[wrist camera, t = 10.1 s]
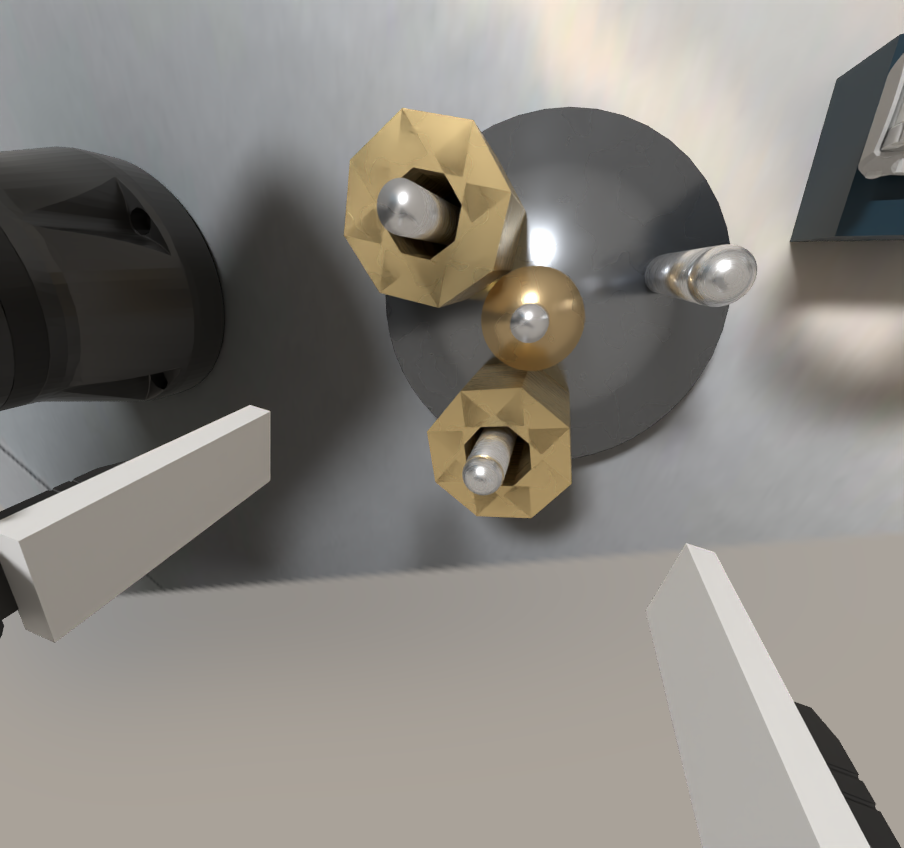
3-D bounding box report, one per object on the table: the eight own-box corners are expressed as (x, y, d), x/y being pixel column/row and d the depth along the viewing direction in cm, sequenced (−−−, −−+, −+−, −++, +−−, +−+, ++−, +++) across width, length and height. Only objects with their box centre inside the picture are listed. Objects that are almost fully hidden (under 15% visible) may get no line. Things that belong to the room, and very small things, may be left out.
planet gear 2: (465, 467, 23) (440, 514, 19) (452, 366, 21) (420, 393, 17) (572, 467, 21) (572, 520, 17) (568, 357, 19) (567, 384, 15)
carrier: (380, 404, 25) (285, 473, 17) (423, 93, 18) (301, -53, 10) (636, 484, 22) (677, 613, 14) (795, 154, 16) (1056, 22, 7)
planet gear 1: (390, 279, 20) (340, 282, 16) (408, 142, 18) (354, 99, 13) (502, 307, 19) (481, 319, 15) (537, 166, 17) (526, 129, 12)
